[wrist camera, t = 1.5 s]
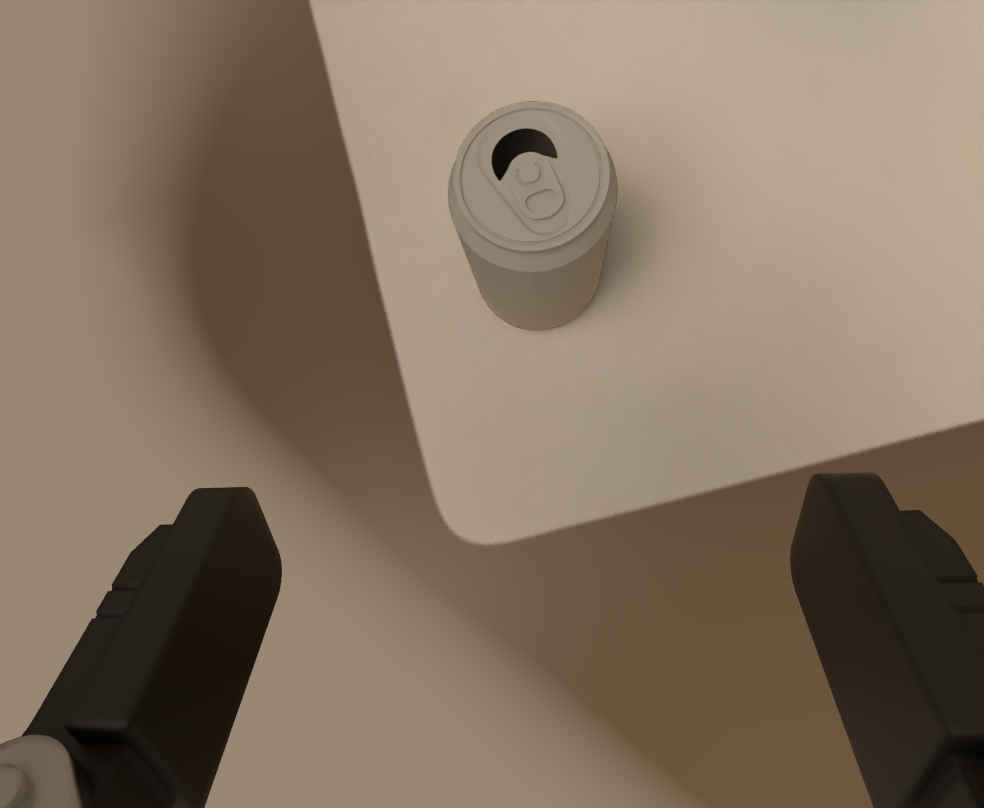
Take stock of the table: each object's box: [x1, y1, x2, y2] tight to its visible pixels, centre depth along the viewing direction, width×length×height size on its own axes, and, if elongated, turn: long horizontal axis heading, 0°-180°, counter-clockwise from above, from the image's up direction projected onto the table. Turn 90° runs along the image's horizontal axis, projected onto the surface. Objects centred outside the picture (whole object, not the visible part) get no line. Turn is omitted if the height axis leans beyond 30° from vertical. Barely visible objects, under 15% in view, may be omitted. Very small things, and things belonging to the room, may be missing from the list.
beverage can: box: [448, 101, 617, 330], centre depth 31 cm, size 6×6×12 cm
